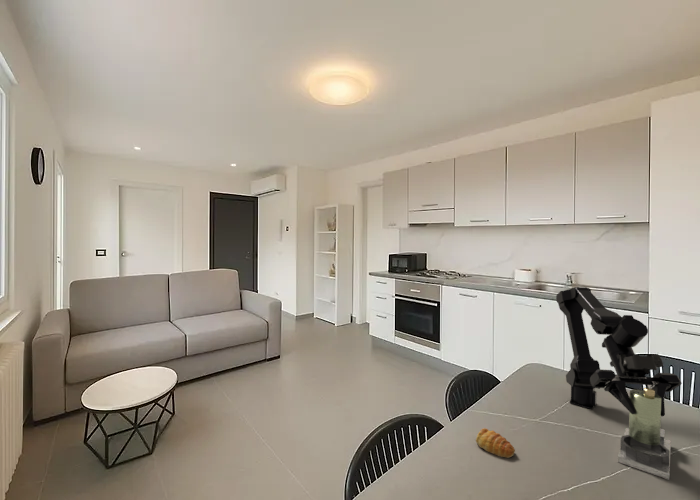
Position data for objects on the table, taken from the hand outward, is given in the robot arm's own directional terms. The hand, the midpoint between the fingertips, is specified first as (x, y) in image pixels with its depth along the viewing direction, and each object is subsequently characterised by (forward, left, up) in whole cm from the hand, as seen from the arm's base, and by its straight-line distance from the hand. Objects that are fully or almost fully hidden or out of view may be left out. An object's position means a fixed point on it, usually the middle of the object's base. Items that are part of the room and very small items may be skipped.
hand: (648, 414), depth 85 cm
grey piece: (-1, +5, -12) cm, 13 cm away
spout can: (-1, +1, -7) cm, 7 cm away
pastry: (-30, -19, -13) cm, 38 cm away
